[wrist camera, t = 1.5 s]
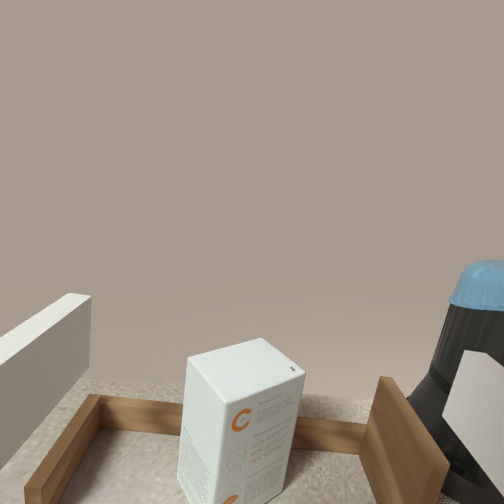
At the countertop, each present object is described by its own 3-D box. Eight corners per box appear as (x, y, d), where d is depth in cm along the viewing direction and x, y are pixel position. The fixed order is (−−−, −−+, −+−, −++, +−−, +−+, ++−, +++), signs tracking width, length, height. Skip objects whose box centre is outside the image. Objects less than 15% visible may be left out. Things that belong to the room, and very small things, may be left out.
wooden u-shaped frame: (365, 446, 37) (386, 370, 34) (413, 563, 26) (450, 464, 24) (94, 417, 36) (95, 335, 33) (26, 527, 25) (20, 418, 22)
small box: (244, 443, 35) (261, 335, 32) (283, 493, 30) (309, 372, 27) (173, 478, 30) (185, 355, 27) (207, 544, 25) (227, 404, 22)
